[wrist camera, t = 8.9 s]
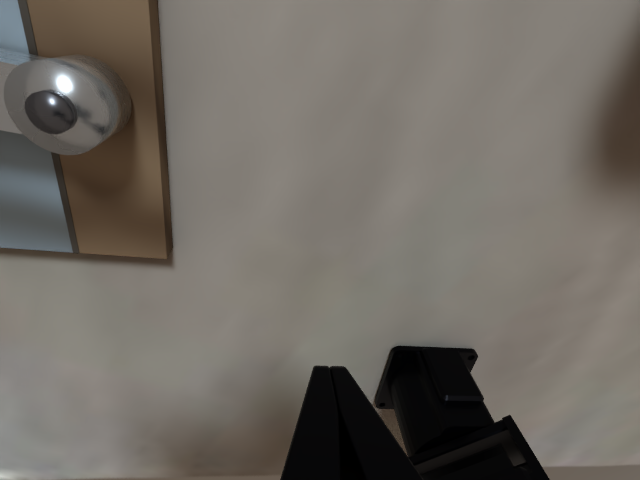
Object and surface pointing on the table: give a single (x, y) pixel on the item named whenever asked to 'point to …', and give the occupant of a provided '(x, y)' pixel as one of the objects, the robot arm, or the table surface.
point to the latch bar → (61, 100)
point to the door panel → (106, 158)
